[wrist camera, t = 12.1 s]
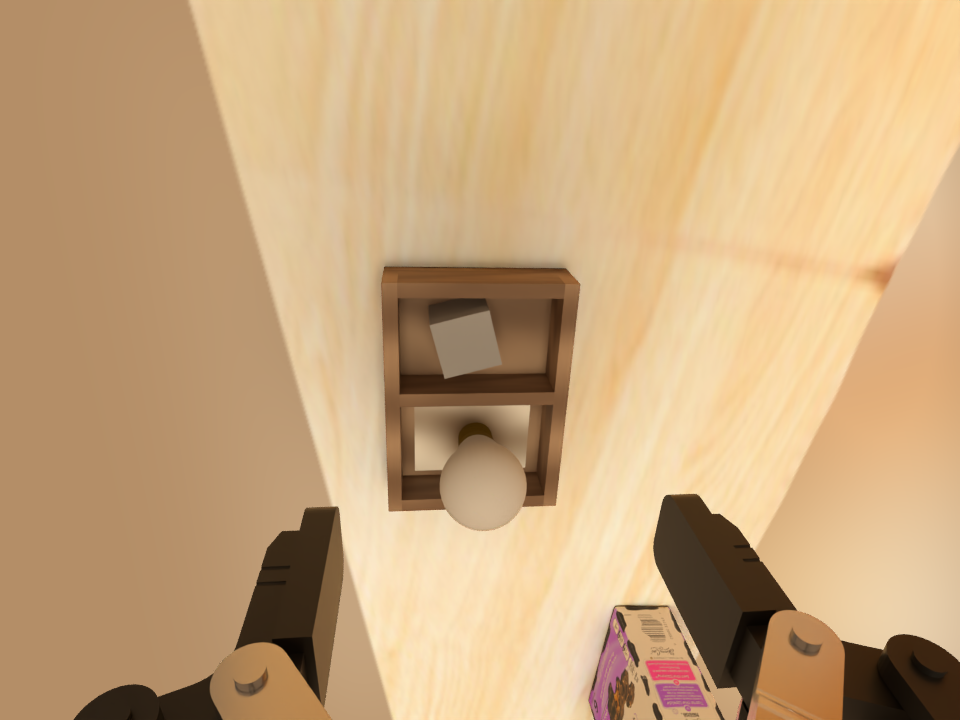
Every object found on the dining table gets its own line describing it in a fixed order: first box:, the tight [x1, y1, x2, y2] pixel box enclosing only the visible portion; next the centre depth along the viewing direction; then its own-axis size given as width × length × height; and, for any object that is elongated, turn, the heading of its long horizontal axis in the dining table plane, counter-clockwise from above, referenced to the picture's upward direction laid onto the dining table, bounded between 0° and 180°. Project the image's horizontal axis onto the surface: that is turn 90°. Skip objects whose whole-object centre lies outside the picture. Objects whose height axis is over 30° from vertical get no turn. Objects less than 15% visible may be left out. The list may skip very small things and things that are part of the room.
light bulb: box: [440, 422, 527, 531], centre depth 41 cm, size 6×6×10 cm
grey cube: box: [428, 298, 502, 379], centre depth 40 cm, size 4×4×4 cm
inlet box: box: [381, 267, 580, 511], centre depth 43 cm, size 18×13×4 cm
